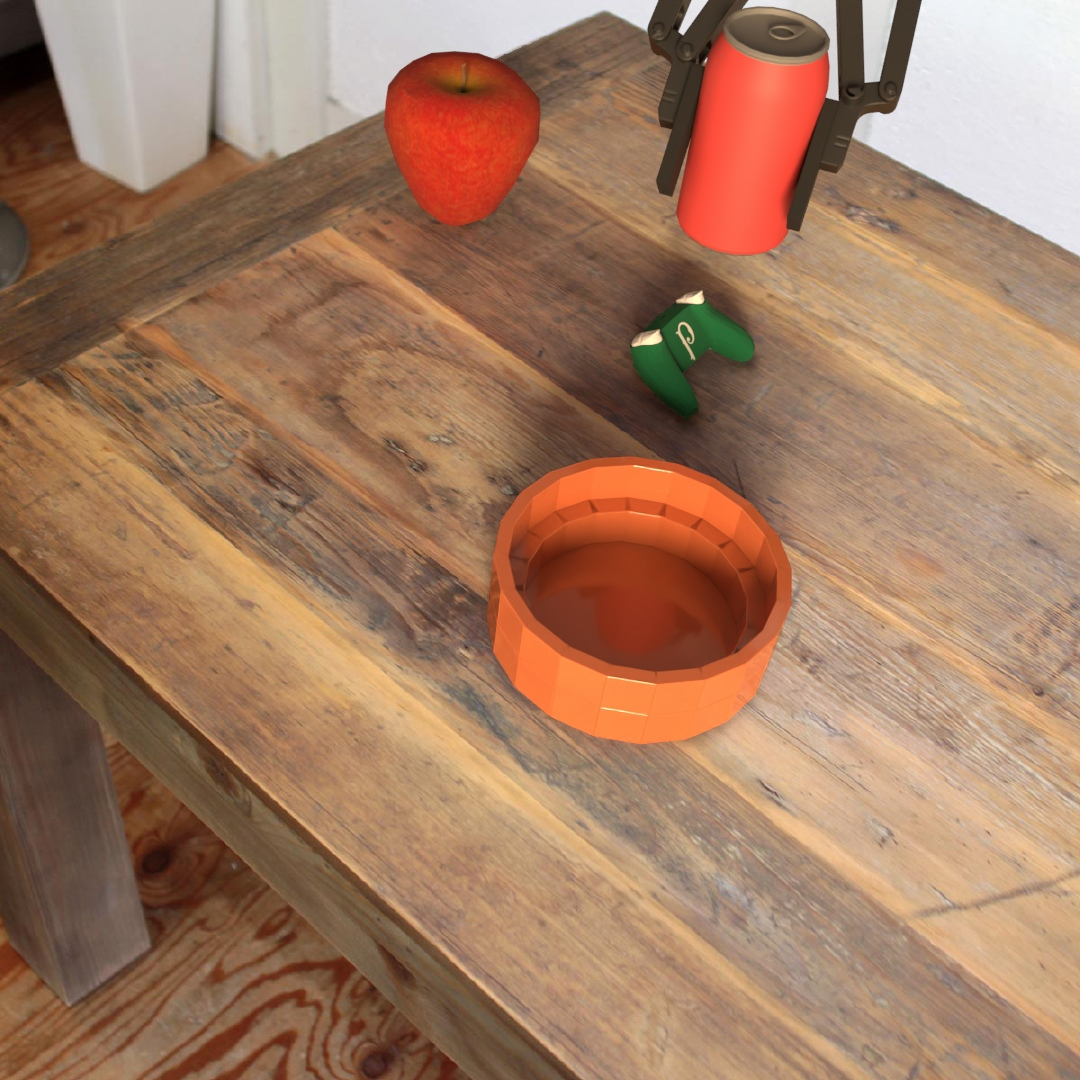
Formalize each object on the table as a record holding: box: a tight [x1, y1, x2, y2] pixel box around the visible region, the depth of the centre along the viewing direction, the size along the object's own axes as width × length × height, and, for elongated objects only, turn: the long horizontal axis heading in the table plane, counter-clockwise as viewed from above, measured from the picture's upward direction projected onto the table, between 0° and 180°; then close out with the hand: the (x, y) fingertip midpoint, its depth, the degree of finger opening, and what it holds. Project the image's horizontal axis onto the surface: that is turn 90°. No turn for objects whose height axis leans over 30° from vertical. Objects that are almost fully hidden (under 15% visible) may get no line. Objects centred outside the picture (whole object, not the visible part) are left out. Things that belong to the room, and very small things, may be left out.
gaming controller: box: [629, 289, 756, 420], centre depth 88 cm, size 9×4×6 cm
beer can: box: [675, 5, 831, 257], centre depth 73 cm, size 7×7×12 cm
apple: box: [383, 50, 541, 227], centre depth 95 cm, size 11×11×12 cm
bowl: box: [485, 455, 793, 745], centre depth 72 cm, size 16×16×6 cm
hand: (728, 206), depth 72 cm, fingers closed on beer can, 7 cm apart
